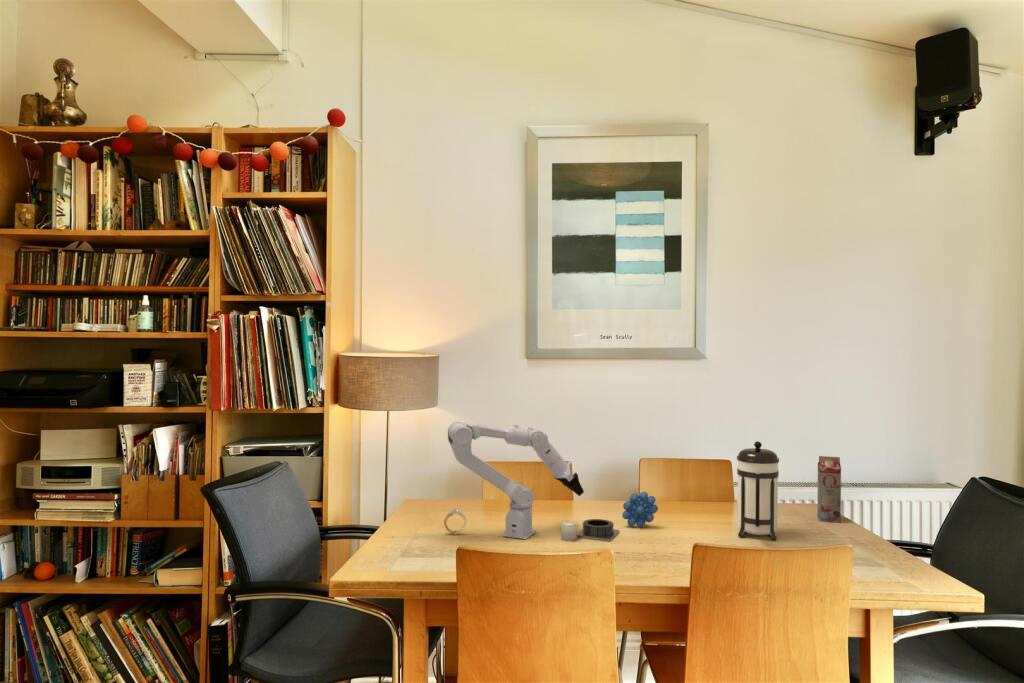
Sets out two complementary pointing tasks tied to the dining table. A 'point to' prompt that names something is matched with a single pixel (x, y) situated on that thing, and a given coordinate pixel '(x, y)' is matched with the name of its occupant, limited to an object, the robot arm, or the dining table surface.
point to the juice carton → (829, 489)
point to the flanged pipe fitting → (598, 530)
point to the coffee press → (757, 491)
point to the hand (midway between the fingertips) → (577, 491)
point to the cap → (569, 531)
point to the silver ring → (451, 515)
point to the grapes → (639, 509)
